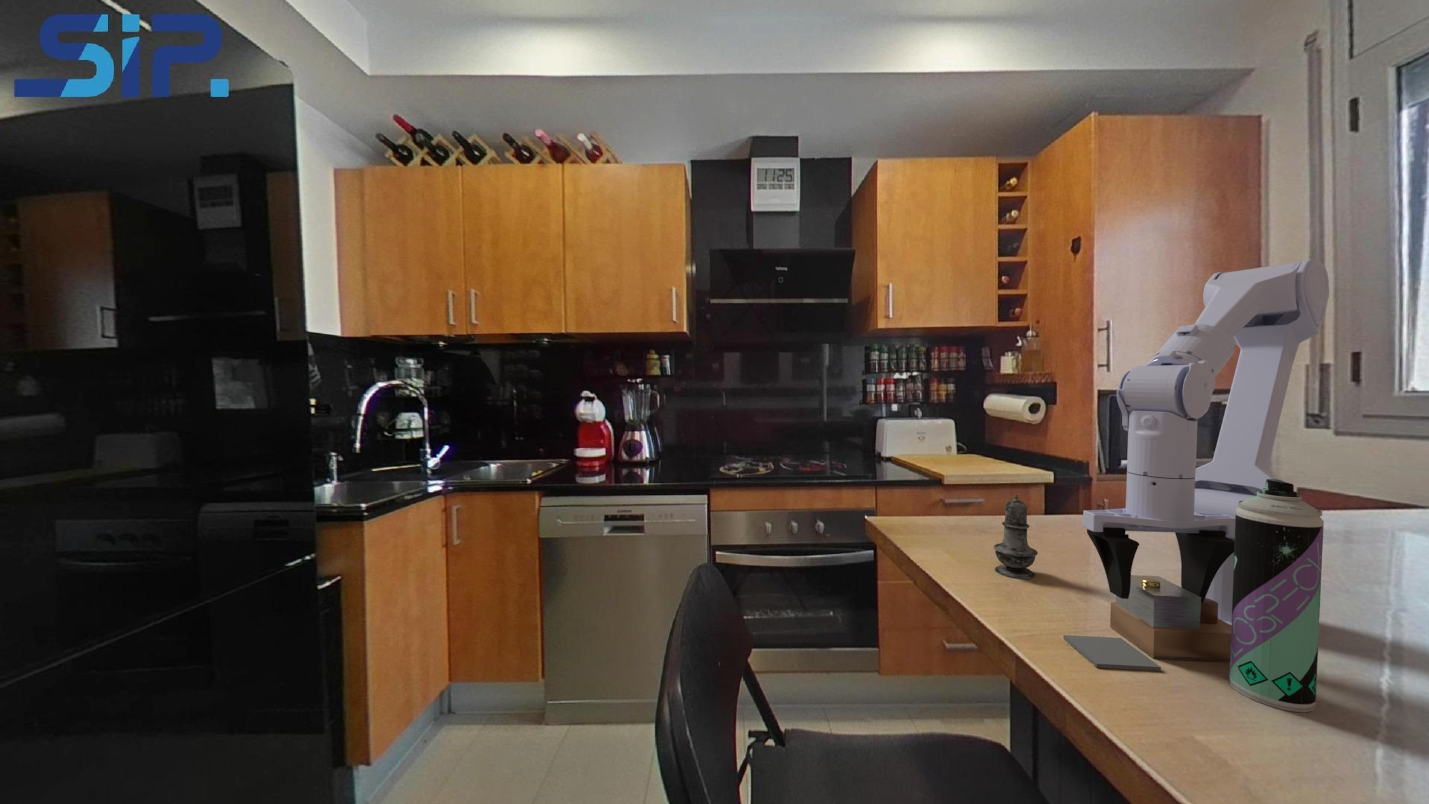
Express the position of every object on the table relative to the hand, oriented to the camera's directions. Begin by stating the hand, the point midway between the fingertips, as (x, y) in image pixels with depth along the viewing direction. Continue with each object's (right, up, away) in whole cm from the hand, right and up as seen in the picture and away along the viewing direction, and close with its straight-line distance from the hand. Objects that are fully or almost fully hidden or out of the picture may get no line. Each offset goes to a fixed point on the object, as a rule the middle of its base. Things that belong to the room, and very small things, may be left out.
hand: (1155, 596), depth 58 cm
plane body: (+2, -5, 0) cm, 6 cm away
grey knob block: (0, -2, 0) cm, 2 cm away
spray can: (+3, -6, -9) cm, 11 cm away
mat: (-7, -5, -2) cm, 9 cm away
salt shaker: (-3, -5, +22) cm, 22 cm away
